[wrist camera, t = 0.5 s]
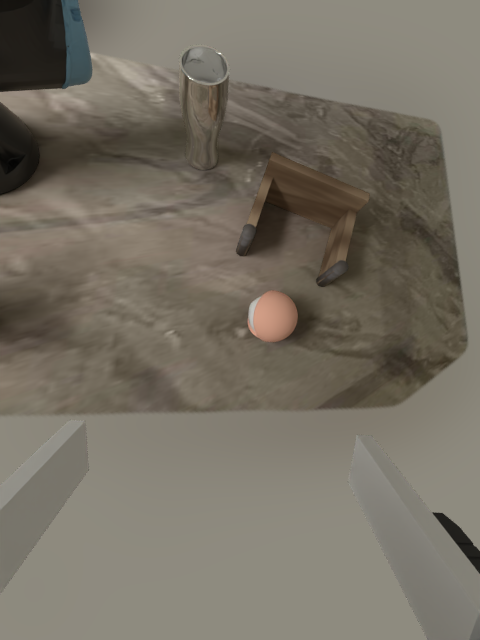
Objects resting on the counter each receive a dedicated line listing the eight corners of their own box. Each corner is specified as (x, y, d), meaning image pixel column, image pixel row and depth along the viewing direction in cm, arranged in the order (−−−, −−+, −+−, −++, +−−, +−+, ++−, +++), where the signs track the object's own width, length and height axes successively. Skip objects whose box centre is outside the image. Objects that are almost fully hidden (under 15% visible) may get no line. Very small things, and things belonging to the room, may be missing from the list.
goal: (325, 288, 47) (354, 269, 39) (234, 253, 46) (244, 225, 37) (341, 225, 51) (371, 194, 42) (257, 190, 49) (270, 151, 40)
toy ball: (257, 290, 45) (269, 273, 38) (294, 313, 46) (315, 301, 38) (234, 329, 43) (242, 320, 36) (274, 353, 43) (290, 349, 36)
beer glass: (192, 134, 49) (192, 34, 35) (226, 151, 50) (239, 60, 35) (175, 161, 48) (167, 67, 33) (210, 178, 48) (217, 94, 34)
